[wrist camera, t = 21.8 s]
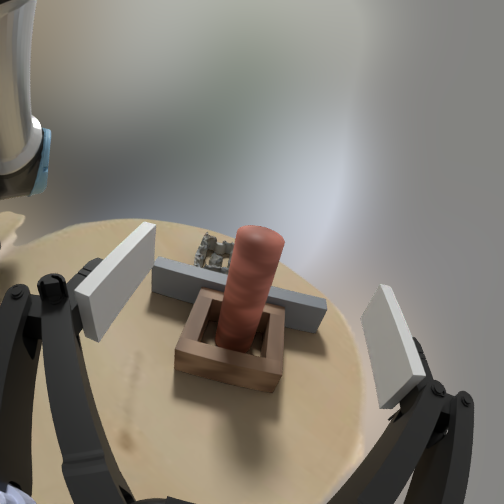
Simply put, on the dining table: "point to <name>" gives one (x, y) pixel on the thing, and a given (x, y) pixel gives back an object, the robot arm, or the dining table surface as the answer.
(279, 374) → the socket block
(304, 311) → the backstop wall
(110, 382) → the dining table surface
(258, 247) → the dowel
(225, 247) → the grey rough frame
